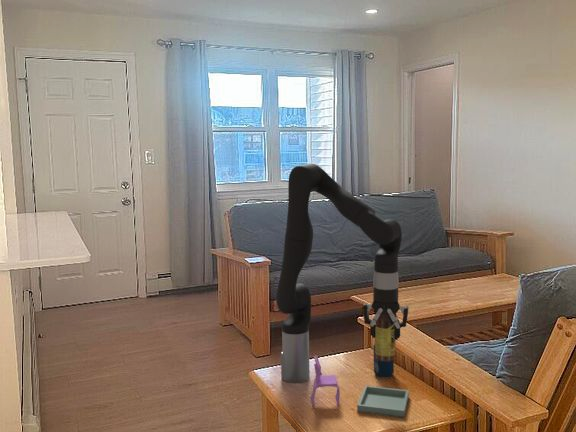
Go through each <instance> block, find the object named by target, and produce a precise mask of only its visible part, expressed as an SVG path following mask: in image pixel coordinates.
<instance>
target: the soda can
mask: <svg viewBox="0 0 576 432" xmlns="http://www.w3.org/2000/svg"><path fill="white" fill-rule="evenodd" d="M394 360H395V359H394ZM394 360H392V361H388V362H387V361H380V360H378V359H376V357H375V343H374V345H373V373H374V374H375V376H376V377H378V378H380V379H389V378H391V377H392V376H393V374H394V371H395V369H394V367H395V365H394V364H395V363H394V362H395V361H394Z"/></svg>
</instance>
